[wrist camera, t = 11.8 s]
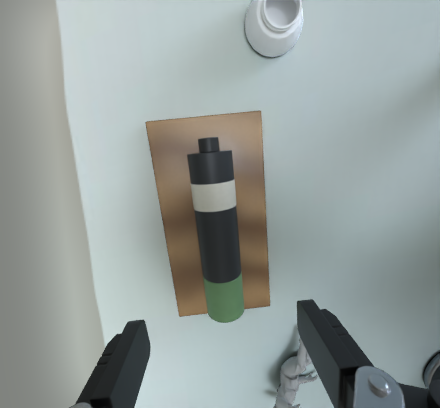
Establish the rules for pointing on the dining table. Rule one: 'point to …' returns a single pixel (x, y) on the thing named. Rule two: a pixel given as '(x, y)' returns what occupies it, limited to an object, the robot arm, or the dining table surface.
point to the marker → (217, 229)
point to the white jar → (273, 25)
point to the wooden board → (184, 211)
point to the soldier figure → (293, 378)
